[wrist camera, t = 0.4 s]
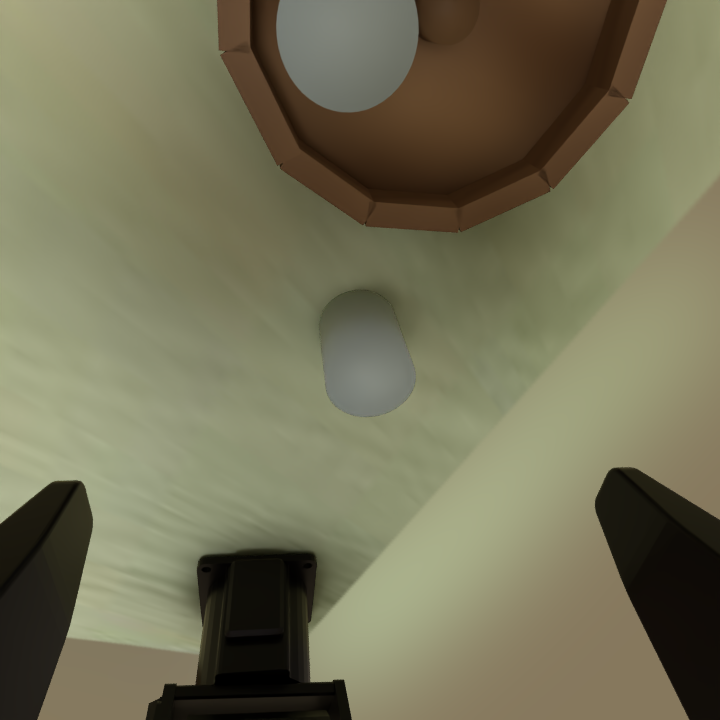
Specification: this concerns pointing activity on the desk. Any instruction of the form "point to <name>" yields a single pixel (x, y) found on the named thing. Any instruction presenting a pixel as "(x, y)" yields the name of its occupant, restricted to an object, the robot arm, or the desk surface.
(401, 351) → the bead loose
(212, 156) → the desk surface
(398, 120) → the walnut tray
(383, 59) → the seated bead
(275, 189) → the desk surface
